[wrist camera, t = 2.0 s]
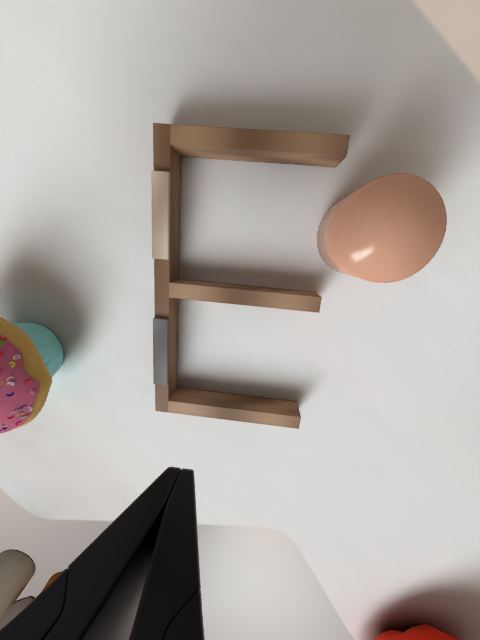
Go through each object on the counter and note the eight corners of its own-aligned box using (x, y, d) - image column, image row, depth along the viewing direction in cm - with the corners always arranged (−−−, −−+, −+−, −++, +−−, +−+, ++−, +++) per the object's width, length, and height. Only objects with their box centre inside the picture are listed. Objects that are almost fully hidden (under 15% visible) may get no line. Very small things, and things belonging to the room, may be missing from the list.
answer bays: (339, 149, 16) (351, 132, 14) (295, 412, 21) (299, 431, 19) (165, 138, 16) (151, 120, 14) (165, 396, 22) (153, 413, 19)
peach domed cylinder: (403, 199, 16) (461, 177, 11) (383, 277, 18) (428, 288, 13) (324, 192, 17) (348, 169, 12) (311, 270, 18) (327, 277, 13)
